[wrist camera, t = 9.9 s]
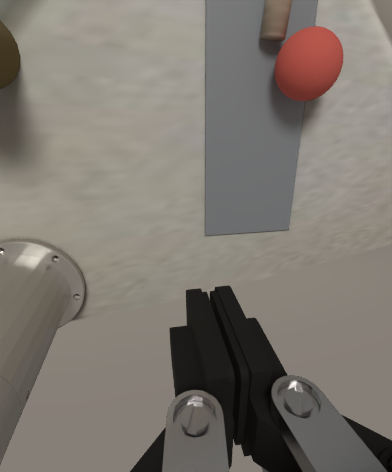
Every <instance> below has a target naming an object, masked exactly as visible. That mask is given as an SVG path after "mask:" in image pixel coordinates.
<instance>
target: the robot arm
mask: <svg viewBox="0 0 392 472" xmlns="http://www.w3.org/2000/svg"><path fill="white" fill-rule="evenodd" d="M55 255H56V256H58V257H56V256H55ZM84 296H85V282H84V278H83V275H82V273H81V271H80V269H79V268H78V266H77V265H76V263H75V262H74V261H73V260H72V259H71V258H70V257H69V256H68V255H67V254H65V253H64V252H63V251H61V250H60V249H58V248H56V247H54V246H52V245H50V244H47V243H44V242H41V241H37V240H30V239H11V240H6V241H2V242H0V464H1V462H2V459H3V457H4V454H5V452H6V449H7V447H8V445H9V442H10V440H11V437H12V435H13V433H14V430H15V428H16V425H17V423H18V421H19V418H20V416H21V414H22V411H23V409H24V406H25V404H26V402H27V399H28V397H29V395H30V392H31V390H32V388H33V385H34V383H35V381H36V378H37V376H38V374H39V371H40V369H41V366H42V364H43V361H44V359H45V357H46V355H47V352H48V350H49V347H50V345H51V343H52V340H53V338H54V336H55V333H56V331H57V329H58V328H60V327H62V326H63V325H65V324H67V323H68V322H69V321H70V320H72V319H73V318H74V317H75V315H76V314H77V313H78V311H79V310H80V307H81V305H82V303H83V300H84ZM186 309H187V326H181V327H172V328H170V345H171V357H172V369H173V378H174V388H175V397H176V398H175V399H174V400H173V401H172V403H171V405H170V407H169V409H168V413H167V420H166V427H165V429H164V430H163V431H162V432H161V434H160V435H159V436H158V438H157V439H156V440H155V441H154V443H153V444H152V445H151V446H150V447H149V449H148V450H147V451H146V452H145V454H144V455H143V456H142V457H141V459H140V460H139V461H138V462H137V464H136V465H135V466H134V468H133V469H132V470H131V471H130V472H229V469H230V467H231V463H232V448H233V439H234V442H235V445H240V444H241V446H242V450H243V453H244V456H249V455H251V456H252V459H253V461H254V462H255V463H257V464H258V465H260V466H261V467H262V470H263V472H392V441H391V440H389V439H387V438H386V437H383V436H382V435H380V434H378V433H376V432H374V431H372V430H370V429H368V428H366V427H364V426H362V425H360V424H358V423H357V422H354V421H353V420H351V419H349V418H347V417H345V416H343V415H341V414H340V413H339V412H338V411H337V409H336V408H335V407H334V406H333V405H332V403H331V402H330V401H329V399H328V398H327V397H326V396H325V395H324V393H323V392H322V391H321V390H320V389H319V388H318V387H317V386H316V385H315V384H314V383H312V382H310V381H309V380H307V379H305V378H302V377H299V376H293V375H289V376H288V375H287V373H286V372H285V370H284V368H283V366H282V364H281V363H280V361H279V359H278V357H277V355H276V354H275V352H274V350H273V348H272V346H271V344H270V343H269V341H268V339H267V337H266V335H265V333H264V332H263V330H262V328H261V326H260V325H259V323H258V321H257V319H256V318H248V319H246V317H245V315H244V313H243V311H242V309H241V307H240V305H239V303H238V301H237V299H236V297H235V295H234V293H233V291H232V289H231V287H230V286H220V287H215V291H210V300H209V297H208V294H207V292H202V291H201V289H190V290H186Z"/></svg>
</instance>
